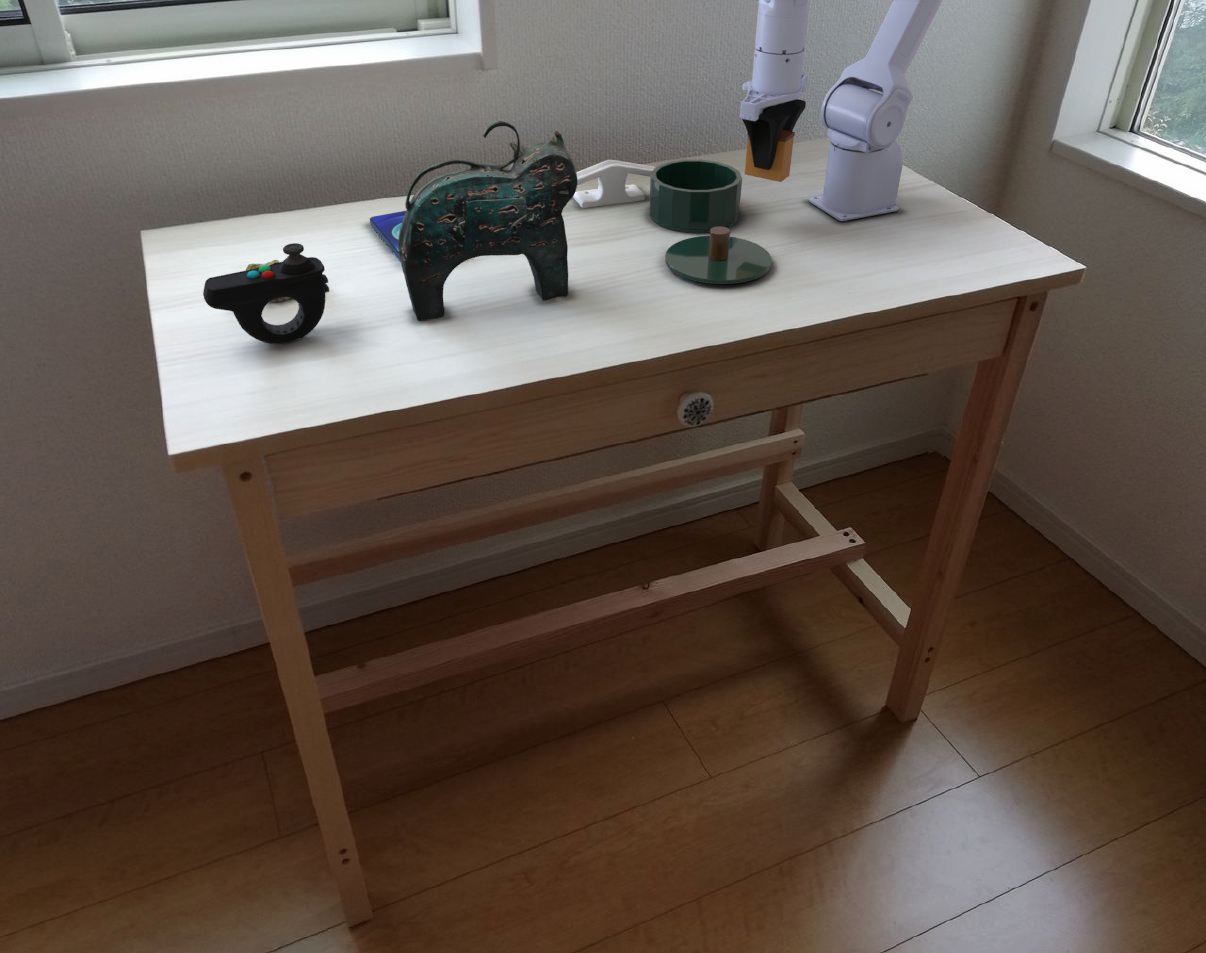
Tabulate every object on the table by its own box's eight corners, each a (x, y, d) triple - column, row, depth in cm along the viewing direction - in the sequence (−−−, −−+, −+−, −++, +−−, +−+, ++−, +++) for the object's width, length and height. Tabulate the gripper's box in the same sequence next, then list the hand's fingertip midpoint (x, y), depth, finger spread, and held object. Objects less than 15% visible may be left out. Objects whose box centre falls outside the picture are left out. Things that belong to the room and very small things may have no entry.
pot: (711, 193, 140) (714, 154, 137) (754, 224, 131) (758, 183, 128) (635, 206, 136) (636, 166, 133) (674, 238, 128) (676, 197, 124)
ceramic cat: (569, 278, 118) (566, 105, 106) (588, 302, 114) (586, 124, 102) (403, 305, 113) (379, 126, 101) (415, 331, 108) (391, 146, 96)
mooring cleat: (535, 202, 138) (534, 163, 134) (670, 185, 143) (672, 147, 139) (544, 213, 134) (542, 173, 131) (681, 195, 140) (683, 156, 136)
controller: (341, 336, 107) (325, 249, 101) (222, 363, 103) (198, 273, 97) (330, 319, 110) (314, 234, 104) (215, 344, 106) (191, 256, 100)
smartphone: (422, 207, 134) (461, 247, 123) (423, 213, 134) (462, 254, 123) (367, 217, 131) (402, 259, 120) (368, 224, 131) (403, 266, 121)
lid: (737, 236, 128) (740, 203, 125) (790, 277, 119) (795, 241, 116) (647, 253, 124) (648, 219, 121) (695, 296, 115) (697, 260, 112)
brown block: (790, 175, 125) (795, 131, 122) (781, 182, 123) (785, 138, 120) (753, 168, 127) (757, 124, 124) (743, 174, 125) (747, 130, 122)
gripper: (774, 30, 123) (764, 141, 131) (719, 57, 113) (712, 175, 121) (828, 38, 120) (814, 151, 128) (777, 66, 110) (765, 186, 118)
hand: (768, 163), depth 124 cm, fingers closed on brown block, 2 cm apart
